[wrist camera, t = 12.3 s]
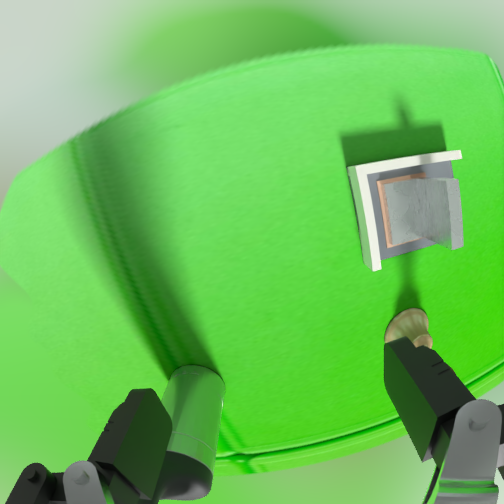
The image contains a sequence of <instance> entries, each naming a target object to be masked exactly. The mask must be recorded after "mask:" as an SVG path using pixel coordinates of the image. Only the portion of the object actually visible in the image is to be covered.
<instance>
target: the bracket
mask: <svg viewBox="0 0 504 504" xmlns="http://www.w3.org/2000/svg"><path fill="white" fill-rule="evenodd" d="M381 187H382V193H383V199H384V205H385V211H386V218H387V226H388V234H389V242H390V244H391V245H396V244H400V243H404V242H408V241H411V240H415V239H419V238H422V237H423V238H426V239H428V240H430V241H433V242H435V243H437V244H439V245H442V246H444V247H446V248H448V249H450V250H454V249H457V248H460V247H463V223H462V209H461V198H460V189H459V182H458V179H453V178H438V177H418V178H413V179H407V180H402V181H396V182H391V183H385V184H381Z"/></svg>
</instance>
